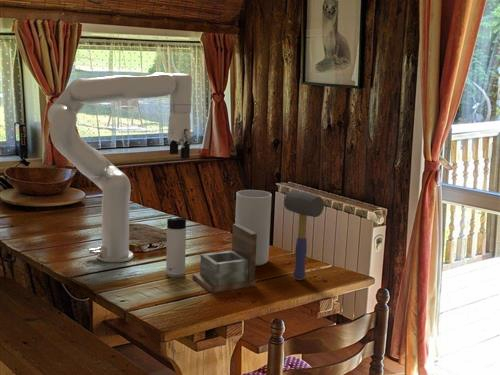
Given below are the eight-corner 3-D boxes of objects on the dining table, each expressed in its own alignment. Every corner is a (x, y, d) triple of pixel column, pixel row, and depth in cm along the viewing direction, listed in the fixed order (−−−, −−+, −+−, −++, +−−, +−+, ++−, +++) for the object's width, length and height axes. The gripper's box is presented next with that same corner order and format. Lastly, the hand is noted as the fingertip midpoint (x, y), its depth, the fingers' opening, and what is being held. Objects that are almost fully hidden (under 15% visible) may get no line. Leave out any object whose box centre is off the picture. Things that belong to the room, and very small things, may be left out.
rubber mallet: (278, 276, 223) (282, 190, 216) (292, 271, 228) (297, 187, 222) (306, 286, 214) (312, 197, 208) (320, 281, 219) (326, 194, 213)
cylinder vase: (228, 263, 234) (230, 194, 229) (241, 253, 246) (244, 188, 241) (260, 268, 230) (264, 199, 225) (273, 258, 241) (276, 192, 236)
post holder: (210, 292, 205) (212, 238, 202) (192, 278, 217) (194, 227, 214) (255, 285, 213) (257, 234, 209) (235, 272, 225) (237, 223, 221)
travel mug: (170, 279, 215) (171, 220, 211) (163, 273, 221) (164, 215, 217) (188, 277, 218) (189, 219, 214) (180, 270, 224) (182, 214, 220)
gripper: (161, 106, 239) (160, 152, 242) (180, 111, 224) (179, 160, 228) (180, 106, 242) (179, 152, 246) (200, 111, 228) (199, 159, 231)
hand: (179, 156), depth 237 cm, fingers open, 9 cm apart
